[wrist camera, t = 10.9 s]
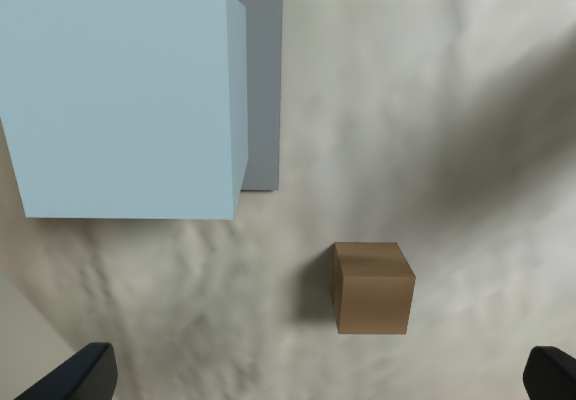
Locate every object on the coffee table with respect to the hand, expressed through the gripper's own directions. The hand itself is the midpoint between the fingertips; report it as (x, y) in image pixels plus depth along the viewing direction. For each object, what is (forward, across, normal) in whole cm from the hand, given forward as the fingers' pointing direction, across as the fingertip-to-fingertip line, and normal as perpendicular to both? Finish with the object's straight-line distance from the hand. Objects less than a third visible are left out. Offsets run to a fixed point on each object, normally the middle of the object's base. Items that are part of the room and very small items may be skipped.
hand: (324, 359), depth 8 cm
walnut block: (+13, -4, +6) cm, 15 cm away
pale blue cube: (+12, +6, -4) cm, 14 cm away
